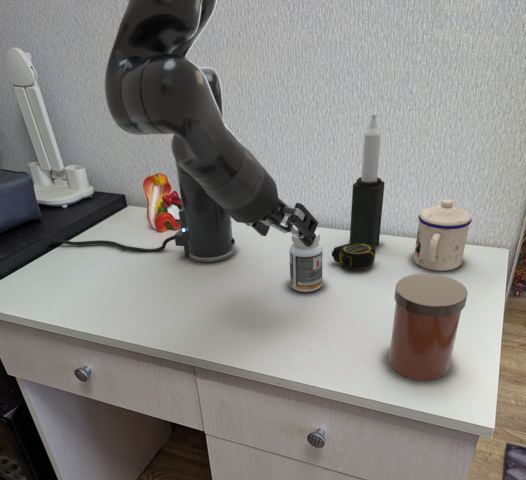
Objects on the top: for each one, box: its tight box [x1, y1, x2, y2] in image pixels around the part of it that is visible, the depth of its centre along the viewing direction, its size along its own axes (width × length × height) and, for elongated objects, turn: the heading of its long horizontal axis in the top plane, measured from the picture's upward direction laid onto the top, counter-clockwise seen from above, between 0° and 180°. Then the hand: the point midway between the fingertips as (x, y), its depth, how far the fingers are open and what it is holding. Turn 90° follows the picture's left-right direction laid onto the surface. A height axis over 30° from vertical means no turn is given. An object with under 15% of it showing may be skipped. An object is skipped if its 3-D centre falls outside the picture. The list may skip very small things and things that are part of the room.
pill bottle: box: [288, 228, 323, 293], centre depth 85 cm, size 6×6×10 cm
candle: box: [349, 112, 386, 249], centre depth 93 cm, size 5×5×25 cm
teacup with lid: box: [413, 198, 473, 272], centre depth 89 cm, size 12×9×12 cm
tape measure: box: [331, 242, 376, 270], centre depth 93 cm, size 7×7×4 cm
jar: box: [388, 273, 468, 382], centre depth 65 cm, size 9×9×12 cm
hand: (288, 235), depth 78 cm, fingers open, 8 cm apart
